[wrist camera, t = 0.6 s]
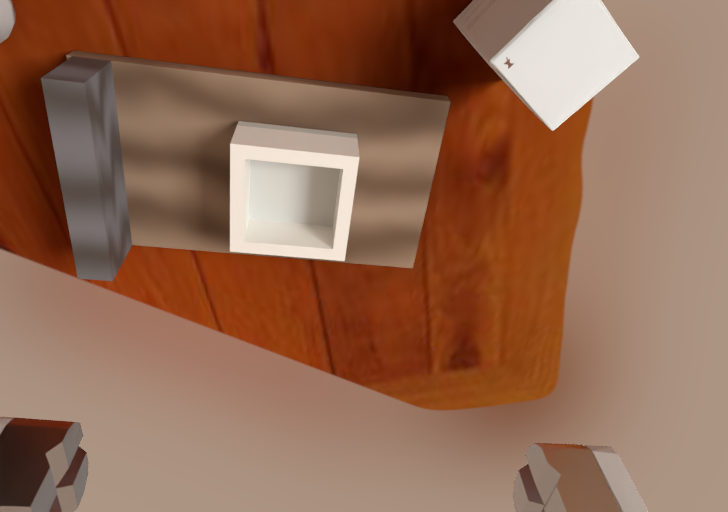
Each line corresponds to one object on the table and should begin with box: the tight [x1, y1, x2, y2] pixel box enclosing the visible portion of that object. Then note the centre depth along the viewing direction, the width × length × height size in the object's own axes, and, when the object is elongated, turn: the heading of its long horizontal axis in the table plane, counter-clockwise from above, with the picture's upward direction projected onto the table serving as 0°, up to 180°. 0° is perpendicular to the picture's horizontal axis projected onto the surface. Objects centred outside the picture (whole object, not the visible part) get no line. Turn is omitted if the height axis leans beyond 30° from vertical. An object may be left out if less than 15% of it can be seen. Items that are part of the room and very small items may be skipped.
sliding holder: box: [230, 121, 360, 261], centre depth 50 cm, size 10×10×5 cm
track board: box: [41, 51, 451, 281], centre depth 50 cm, size 18×32×8 cm, turn 82°
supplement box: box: [453, 0, 639, 131], centre depth 41 cm, size 7×7×13 cm
